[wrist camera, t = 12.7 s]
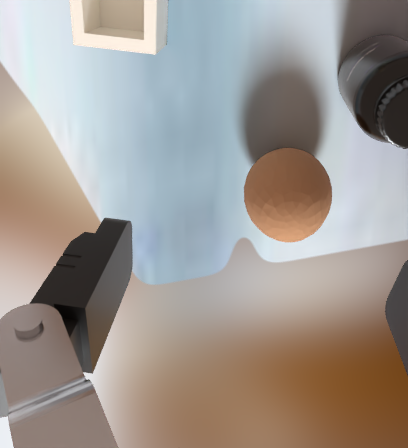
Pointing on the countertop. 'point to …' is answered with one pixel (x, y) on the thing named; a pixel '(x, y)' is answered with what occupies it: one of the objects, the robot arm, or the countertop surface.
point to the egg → (288, 194)
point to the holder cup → (120, 24)
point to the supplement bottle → (378, 88)
